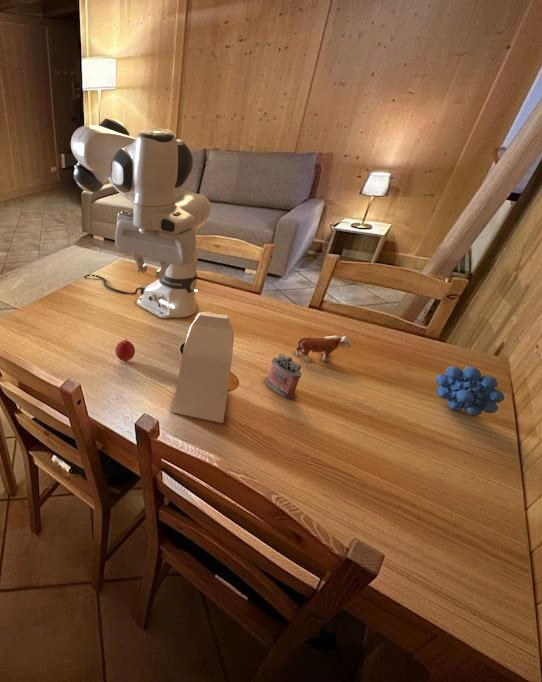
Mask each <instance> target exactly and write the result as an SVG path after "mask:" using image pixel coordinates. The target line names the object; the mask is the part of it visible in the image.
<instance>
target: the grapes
mask: <svg viewBox="0 0 542 682" xmlns="http://www.w3.org/2000/svg"><path fill="white" fill-rule="evenodd" d="M434 380H435V382H436V384H437V386H439V387H437V388H436V390H435V392H436V395H437V396H438V397H439V399H442V400H446V404H447V406H448V407H449V408H450V409H451V410H454V411H457V412H458V411H461V410H464V412H465V413H466V414H467V415H469V416H472V417H478V416H480V415H482V412H484V413H486V414H494V413H497V412H498V410H499V406H498V404H500V403H502V402H503V401H504V400H505V395H504V392H503V391H501V390H500V389H497V387H498V385H499V382H498V381H497V379H496V378H495V377H493V376H492V375H482V373H481V371H480V370H479V369H478V368H477V367H474V366H466V367H465V368H463V369H461V368H460V367H457V366H455V365H454V366H449V367H447V368H446V369H445V372H444V373H442V374H441V373H440V374H438V375H437V376H435V379H434Z"/></svg>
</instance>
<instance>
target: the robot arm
mask: <svg viewBox="0 0 542 682" xmlns="http://www.w3.org/2000/svg"><path fill="white" fill-rule="evenodd" d="M70 149H71V152H72V154H73V157H74V158H75V159H76V161H77V163H76V164H74V166H73V167H74V171H73V180H74V181H75V182H76V184H77V185H78V187H79V188H80V189H81V190H83V191H85V192H88V193H92V194H95V193H99V192H100V191H101V190H102V188H103V187H104V184H105V183H106V182H107V181H108V183H110V185H111V186H112V187H113V188H114V189H115V190H116V192H118V193H119V194H120V195H122V196H123V197H124V198H125V199H127V200H128V201H130V202H131V203H132V205H133V209H132V210H133V211H129V210H125V209H123V210H121V211H120V212H119V213H118V214H117V216H116V226H115V227H116V228H115V236H114V239H115V240H114V245H115V248H116V249H117V251H121V252H125V253H129V254H132V255H133V259H134V261H135V263H136V265H137V272H138V273H141V274H145V273H147V271H148V264H147V263H145V260H144V258H148V259H151V260H155V261H159V262H160V263H159V265H160V266H161V268H158V269H157V270H155V277H156V278H158V279H157V280H154V281H153V282H151V283H148V282H147V283H145V284H143V285H142V286H140V287H137V288H136V289H135V291H134V292H127V291H122V290H120V289H116V288H113V287H111V286H110V285H108V284H107V280H106V279H105V278H104V277H102V276H101V275H97V274H93V273H91V274H86V275H84V276H83V278H84V279H86V278H87V277H95V278H98V279H101V280H102V281H103V284H104V286H105V287H106V288H107V289H109V290H111V291H114V292H118V293H121V294H125V295H136V294H137V293H138V291H139V290H140V296H139V297H138V298H137V300H136V305H138V306H139V307H141V308H143V309H145V310H146V311H148V312H150V313H152V314H154V315H155V316H157V317H159V318H160V319H169V318H186V317H190V316H192V315H194V314H195V313H197V304H196V293H197V292H198V289H196V287H197V280H198V272H197V270H198V269H197V268H198V260H199V250H198V248H197V236H196V232H197V230H198V229H199V228H200V227H202V226H203V225H204V224H205V223H206V221H207V219H208V218H209V216H210V213H211V210H212V209H211V208H212V207H211V202H210V200H209V199H208V197H206V196H205V195H203V194H200V193H195V192H193V191H190V190H188V189H186V188H183V187H182V186H183V185H184V184H185V182H186V181H187V180H188V178H189V177H190V174H191V173H192V171H193V166H194V157H193V154H192V151H191V149H190V148H189V146H188V145H187V144H186V143H185V142H184V141H183V140H182V139H179V138H177V135H176V133H175V132H173V131H172V130H170V129H167V128H159V127H151V128H145V129H142V130H141V131H140V130H139V132H138V133H137V134H136V136H135V137H134V136H130V132H129V131H128V129H127V128H126V126H125V124H124V123H123V122H121V121H119V120H117V119H115V118H111V117H105V118H104V119H103V120H102V121H101V123H100V124H99V125H97V124H86V125H82V126H80V127H78V128H77V129H76V130H75V131H74V132H73V134H72V135H71V140H70ZM143 257H144V258H143ZM92 274H93V275H92ZM90 275H92V276H90ZM95 275H96V276H95Z"/></svg>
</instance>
